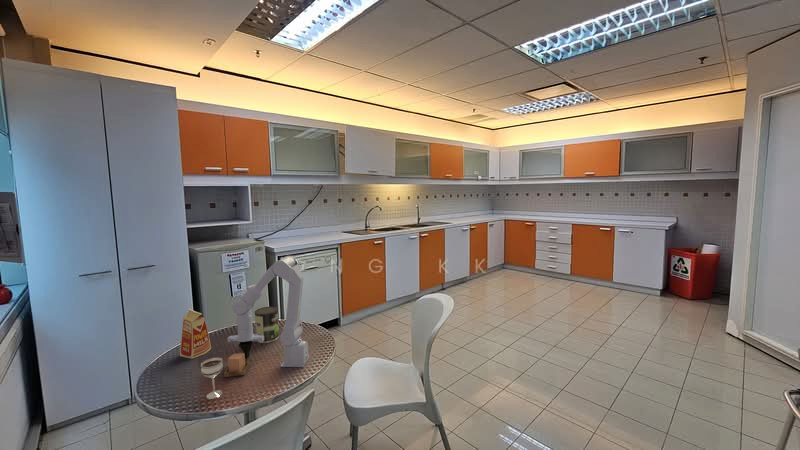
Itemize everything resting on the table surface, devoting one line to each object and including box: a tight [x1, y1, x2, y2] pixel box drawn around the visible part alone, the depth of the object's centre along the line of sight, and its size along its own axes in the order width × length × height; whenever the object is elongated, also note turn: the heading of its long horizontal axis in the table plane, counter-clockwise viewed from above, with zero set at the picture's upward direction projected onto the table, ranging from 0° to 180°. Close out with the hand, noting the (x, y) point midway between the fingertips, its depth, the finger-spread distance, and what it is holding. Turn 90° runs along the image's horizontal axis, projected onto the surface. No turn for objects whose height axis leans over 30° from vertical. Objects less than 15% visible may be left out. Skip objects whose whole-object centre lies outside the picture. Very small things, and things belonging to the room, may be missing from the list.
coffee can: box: [254, 306, 280, 344], centre depth 161 cm, size 10×10×14 cm
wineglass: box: [200, 357, 224, 400], centre depth 118 cm, size 7×7×12 cm
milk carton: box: [179, 308, 212, 359], centre depth 148 cm, size 9×9×20 cm
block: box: [227, 352, 246, 372], centre depth 133 cm, size 4×4×6 cm
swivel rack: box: [223, 351, 251, 378], centre depth 137 cm, size 7×15×3 cm, turn 9°
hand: (247, 357), depth 141 cm, fingers closed
